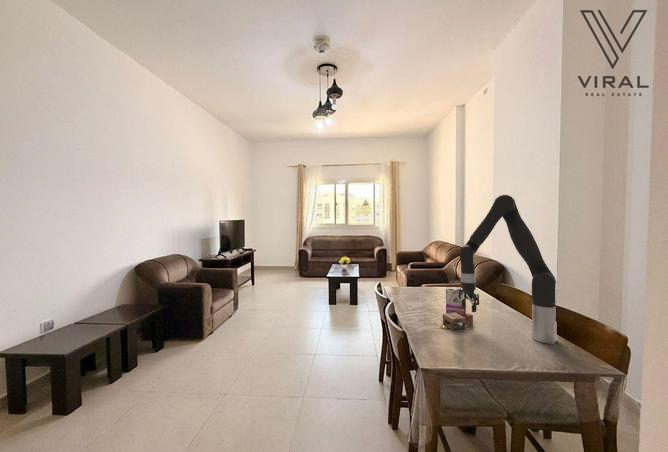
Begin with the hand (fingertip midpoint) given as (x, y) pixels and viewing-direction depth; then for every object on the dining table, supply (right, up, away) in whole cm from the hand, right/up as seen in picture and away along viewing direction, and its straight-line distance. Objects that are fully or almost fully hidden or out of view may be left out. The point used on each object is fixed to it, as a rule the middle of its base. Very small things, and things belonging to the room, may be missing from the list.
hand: (468, 309), depth 161 cm
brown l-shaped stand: (-6, -9, -1) cm, 10 cm away
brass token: (-15, -9, -3) cm, 18 cm away
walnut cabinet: (-9, -9, -1) cm, 13 cm away
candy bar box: (0, -8, +18) cm, 20 cm away
